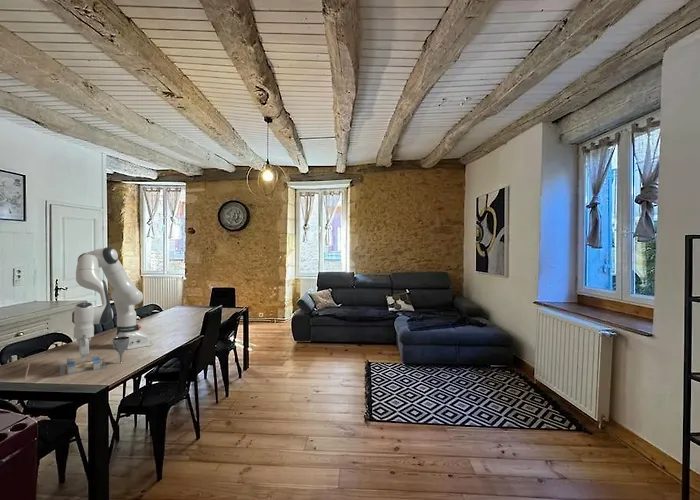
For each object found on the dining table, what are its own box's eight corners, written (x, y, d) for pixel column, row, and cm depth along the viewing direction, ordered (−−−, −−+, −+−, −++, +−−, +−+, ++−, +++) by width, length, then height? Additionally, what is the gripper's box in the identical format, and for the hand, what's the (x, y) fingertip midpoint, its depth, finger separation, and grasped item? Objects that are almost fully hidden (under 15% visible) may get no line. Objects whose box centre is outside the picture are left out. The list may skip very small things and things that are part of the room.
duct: (103, 360, 217) (103, 351, 217) (107, 370, 201) (107, 360, 201) (59, 366, 205) (60, 357, 205) (60, 377, 188) (60, 367, 188)
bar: (101, 365, 204) (101, 360, 204) (102, 367, 202) (102, 361, 202) (64, 371, 195) (64, 365, 195) (64, 373, 192) (64, 367, 192)
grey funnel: (132, 363, 212) (132, 337, 212) (119, 367, 205) (119, 340, 205) (121, 361, 215) (122, 335, 215) (109, 365, 208) (109, 339, 208)
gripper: (92, 336, 192) (92, 363, 192) (89, 329, 208) (89, 354, 208) (77, 338, 188) (76, 365, 188) (75, 331, 204) (75, 356, 204)
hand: (83, 359), depth 198 cm, fingers closed
